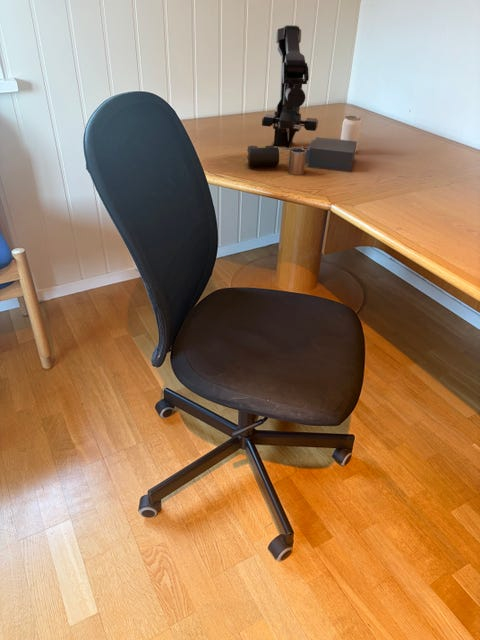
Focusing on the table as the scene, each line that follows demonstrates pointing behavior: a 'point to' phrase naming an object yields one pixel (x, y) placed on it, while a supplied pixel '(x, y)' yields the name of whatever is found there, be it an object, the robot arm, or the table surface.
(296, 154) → the measuring cup
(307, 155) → the drawer
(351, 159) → the cabinet
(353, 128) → the can
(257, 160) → the end cap
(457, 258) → the table surface
